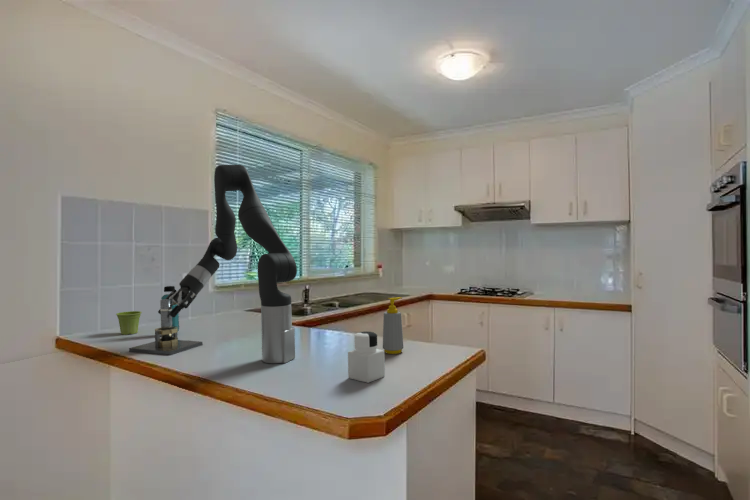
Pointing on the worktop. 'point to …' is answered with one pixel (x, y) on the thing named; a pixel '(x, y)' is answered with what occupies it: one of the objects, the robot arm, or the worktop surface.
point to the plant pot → (129, 322)
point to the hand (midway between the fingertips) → (165, 315)
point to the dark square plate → (166, 344)
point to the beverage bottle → (174, 319)
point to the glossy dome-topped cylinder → (166, 318)
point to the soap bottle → (392, 329)
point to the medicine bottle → (366, 358)
